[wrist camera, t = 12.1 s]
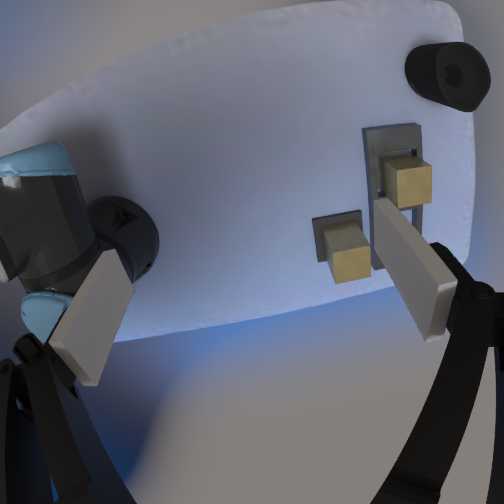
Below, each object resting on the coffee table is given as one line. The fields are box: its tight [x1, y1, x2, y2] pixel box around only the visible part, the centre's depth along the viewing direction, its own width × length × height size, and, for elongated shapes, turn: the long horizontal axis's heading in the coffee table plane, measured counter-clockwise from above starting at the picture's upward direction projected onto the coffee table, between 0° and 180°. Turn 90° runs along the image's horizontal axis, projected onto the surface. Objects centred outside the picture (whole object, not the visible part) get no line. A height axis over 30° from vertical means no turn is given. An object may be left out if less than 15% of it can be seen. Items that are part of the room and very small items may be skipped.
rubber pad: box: [312, 210, 363, 262], centre depth 51 cm, size 8×8×1 cm
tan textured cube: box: [321, 220, 371, 284], centre depth 47 cm, size 6×6×8 cm
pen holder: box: [405, 42, 491, 112], centre depth 32 cm, size 9×9×10 cm
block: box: [375, 150, 432, 208], centre depth 42 cm, size 6×6×8 cm
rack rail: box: [362, 123, 423, 270], centre depth 47 cm, size 9×24×2 cm, turn 13°
